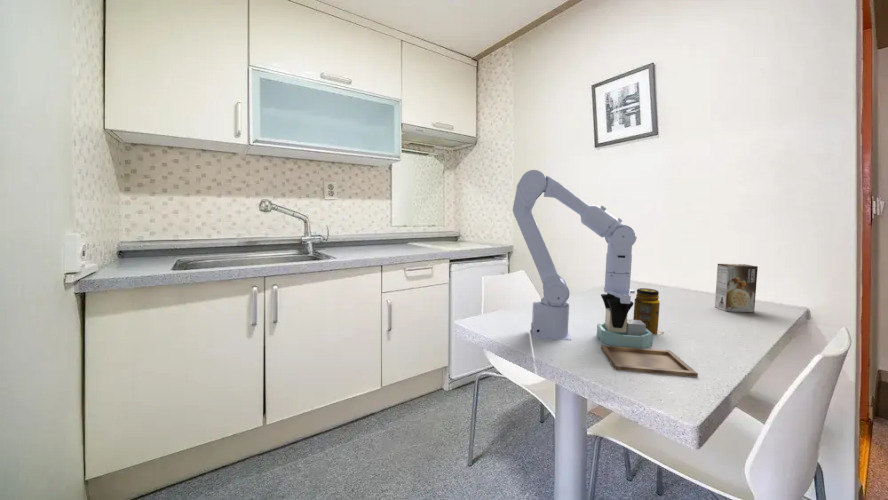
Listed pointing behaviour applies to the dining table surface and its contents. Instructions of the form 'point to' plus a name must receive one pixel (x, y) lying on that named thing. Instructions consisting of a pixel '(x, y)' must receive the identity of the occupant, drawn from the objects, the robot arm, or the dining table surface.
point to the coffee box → (736, 287)
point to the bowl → (624, 338)
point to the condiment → (647, 309)
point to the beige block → (609, 323)
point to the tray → (647, 361)
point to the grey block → (635, 328)
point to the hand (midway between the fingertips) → (614, 324)
